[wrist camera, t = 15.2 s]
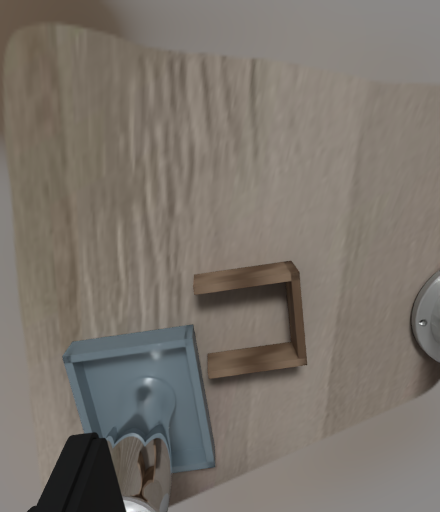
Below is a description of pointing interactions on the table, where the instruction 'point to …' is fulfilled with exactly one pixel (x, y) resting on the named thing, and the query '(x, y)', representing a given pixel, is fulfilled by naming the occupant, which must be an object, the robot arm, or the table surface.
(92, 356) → the slate tray
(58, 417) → the table surface
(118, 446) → the silver metal cup
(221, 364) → the walnut bay
